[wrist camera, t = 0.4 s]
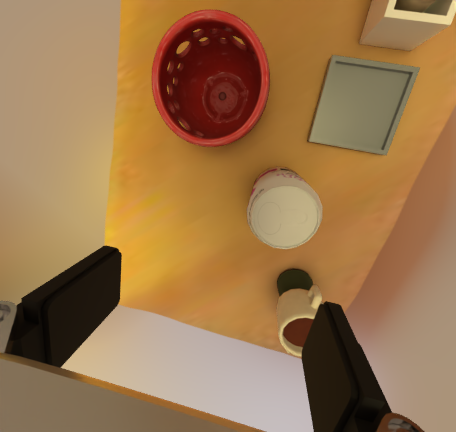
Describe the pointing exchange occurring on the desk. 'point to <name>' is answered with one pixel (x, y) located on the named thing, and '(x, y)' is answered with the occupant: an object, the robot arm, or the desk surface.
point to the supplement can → (283, 209)
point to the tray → (361, 104)
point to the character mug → (296, 309)
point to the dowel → (413, 5)
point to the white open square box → (405, 24)
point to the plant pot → (211, 78)
